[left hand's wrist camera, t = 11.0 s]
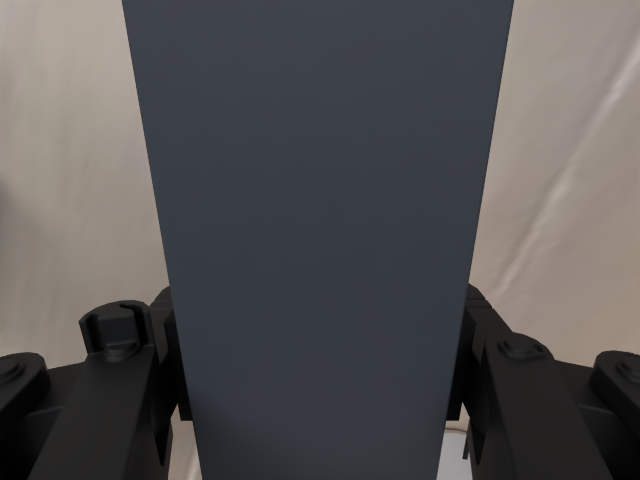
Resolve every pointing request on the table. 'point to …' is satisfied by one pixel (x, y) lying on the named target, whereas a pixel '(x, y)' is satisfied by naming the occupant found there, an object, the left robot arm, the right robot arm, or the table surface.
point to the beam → (318, 219)
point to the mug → (454, 457)
